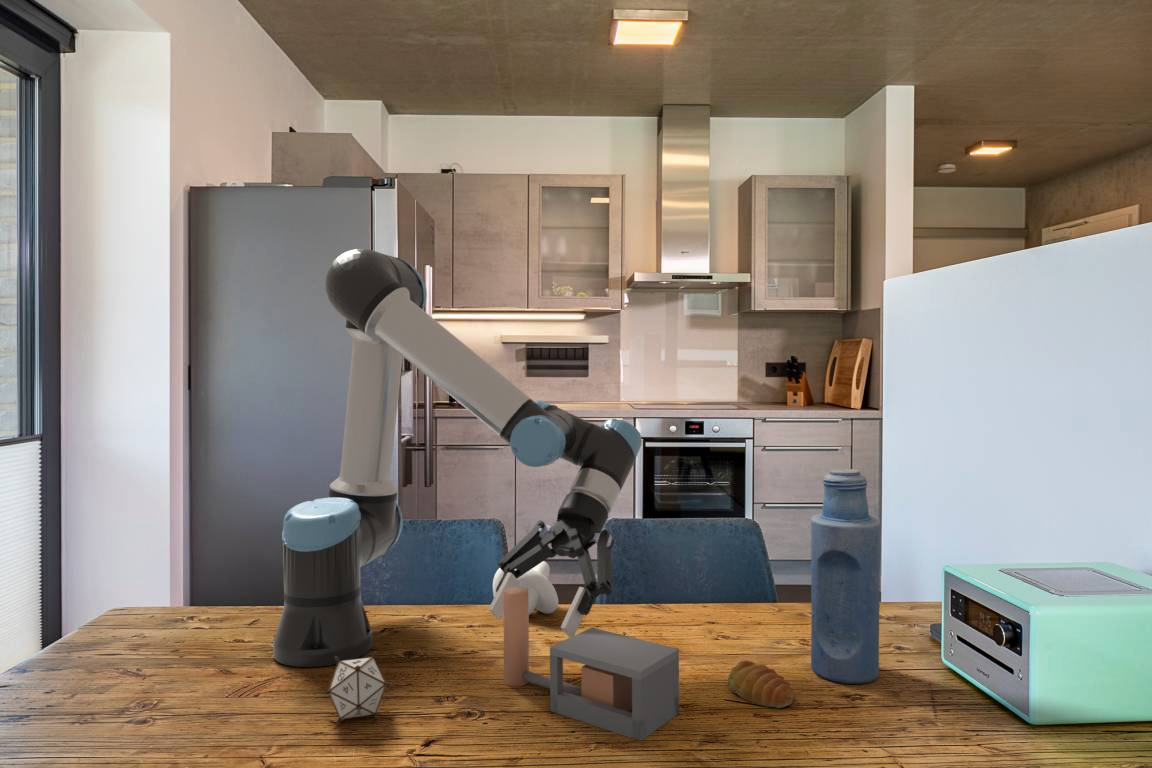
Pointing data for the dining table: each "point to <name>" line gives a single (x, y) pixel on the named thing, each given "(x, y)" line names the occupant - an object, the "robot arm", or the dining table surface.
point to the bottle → (845, 582)
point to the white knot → (535, 588)
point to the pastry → (760, 685)
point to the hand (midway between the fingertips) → (529, 623)
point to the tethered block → (516, 673)
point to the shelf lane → (626, 656)
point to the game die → (356, 687)
